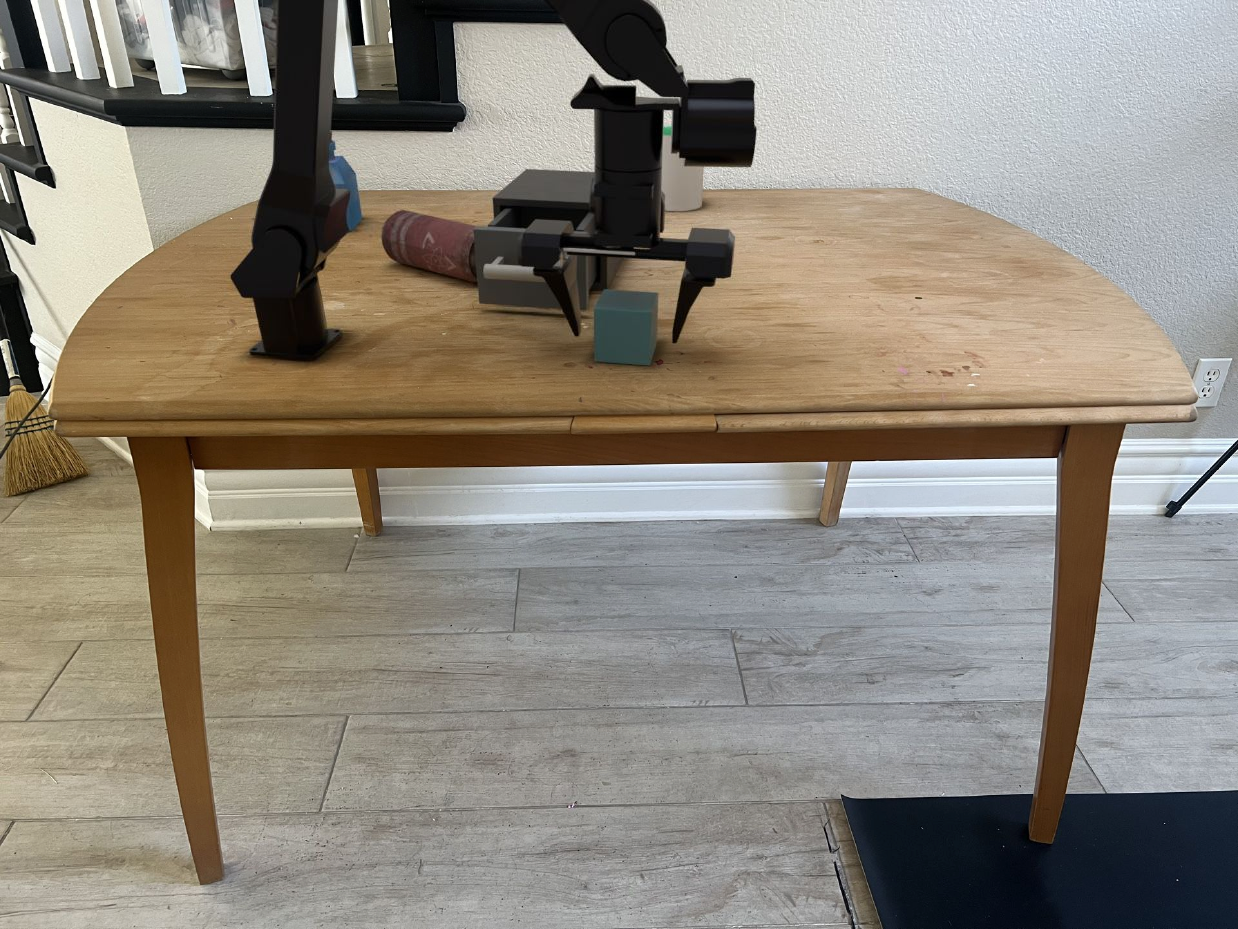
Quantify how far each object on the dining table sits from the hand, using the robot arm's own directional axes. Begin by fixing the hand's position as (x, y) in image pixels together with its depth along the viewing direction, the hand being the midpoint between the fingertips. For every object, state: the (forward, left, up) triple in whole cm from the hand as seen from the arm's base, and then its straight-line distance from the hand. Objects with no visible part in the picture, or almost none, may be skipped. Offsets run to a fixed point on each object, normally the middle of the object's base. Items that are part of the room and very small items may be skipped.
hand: (625, 338), depth 80 cm
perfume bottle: (+36, +46, -2) cm, 58 cm away
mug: (+58, +2, -2) cm, 58 cm away
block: (0, 0, -1) cm, 1 cm away
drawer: (+12, +11, -1) cm, 16 cm away
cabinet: (+24, +11, -1) cm, 26 cm away
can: (+23, +31, +2) cm, 39 cm away
